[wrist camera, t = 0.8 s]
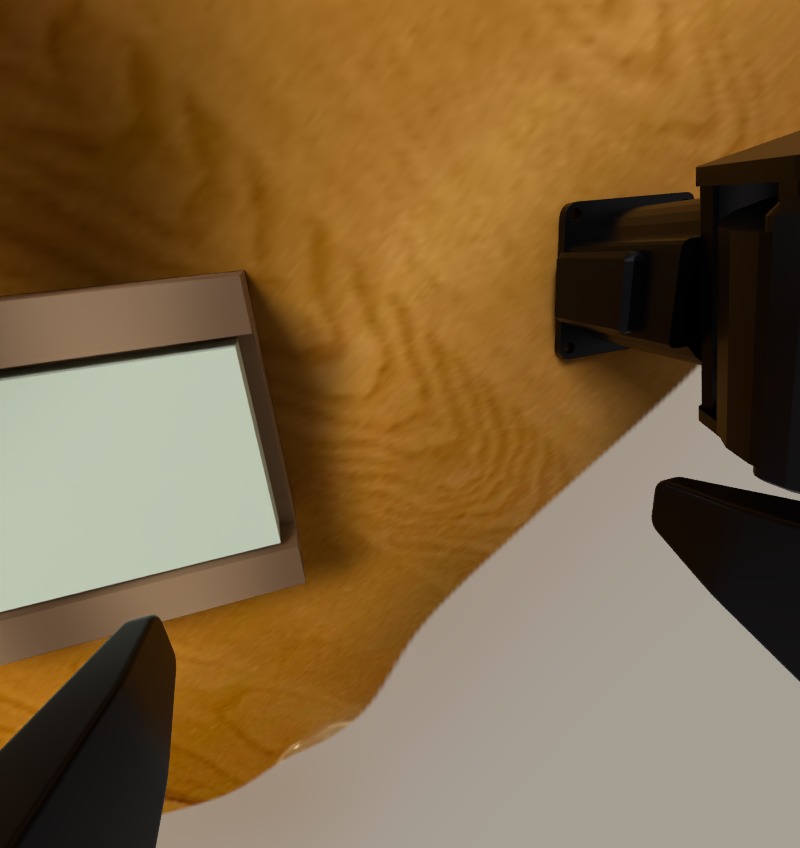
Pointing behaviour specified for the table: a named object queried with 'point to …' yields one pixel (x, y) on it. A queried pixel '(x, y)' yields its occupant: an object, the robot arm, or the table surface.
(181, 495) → the lid
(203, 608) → the walnut box
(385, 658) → the table surface
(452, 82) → the table surface
